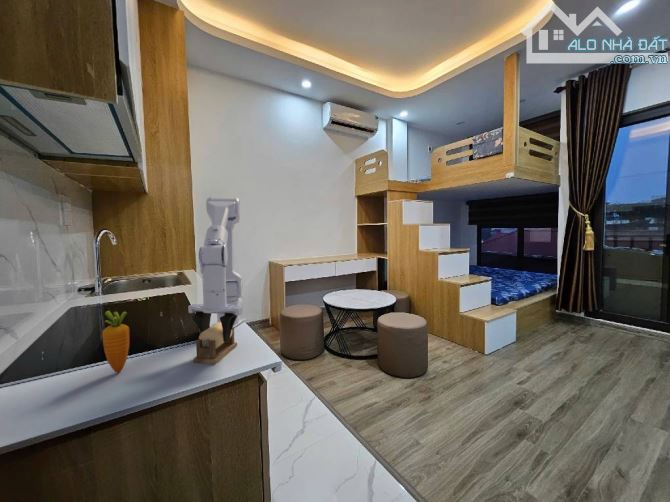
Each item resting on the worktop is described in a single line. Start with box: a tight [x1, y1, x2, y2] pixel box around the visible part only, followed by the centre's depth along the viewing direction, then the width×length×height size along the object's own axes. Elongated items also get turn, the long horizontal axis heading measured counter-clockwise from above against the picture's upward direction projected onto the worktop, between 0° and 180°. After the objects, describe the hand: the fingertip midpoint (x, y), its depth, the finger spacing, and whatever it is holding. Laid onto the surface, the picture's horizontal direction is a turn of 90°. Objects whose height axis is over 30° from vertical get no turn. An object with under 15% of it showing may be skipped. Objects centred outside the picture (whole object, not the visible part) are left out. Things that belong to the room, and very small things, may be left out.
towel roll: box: [198, 322, 232, 349], centre depth 76 cm, size 6×10×6 cm, turn 171°
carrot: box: [101, 310, 130, 374], centre depth 66 cm, size 5×5×15 cm
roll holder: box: [193, 328, 238, 365], centre depth 76 cm, size 6×11×6 cm, turn 171°
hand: (216, 339), depth 76 cm, fingers closed on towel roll, 5 cm apart
